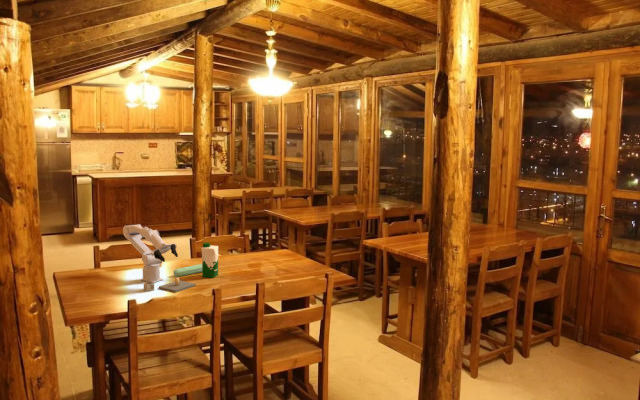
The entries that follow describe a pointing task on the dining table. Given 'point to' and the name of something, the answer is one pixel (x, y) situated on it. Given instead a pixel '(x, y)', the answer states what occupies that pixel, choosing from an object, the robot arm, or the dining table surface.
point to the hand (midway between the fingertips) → (170, 258)
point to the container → (188, 270)
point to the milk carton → (209, 260)
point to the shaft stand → (177, 286)
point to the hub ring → (148, 286)
